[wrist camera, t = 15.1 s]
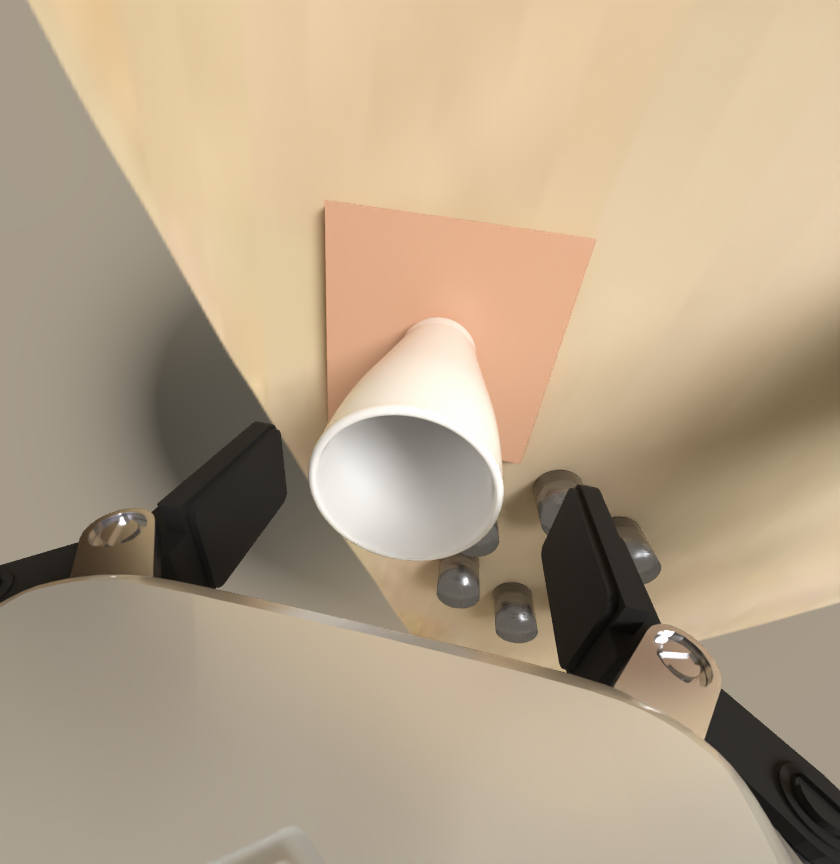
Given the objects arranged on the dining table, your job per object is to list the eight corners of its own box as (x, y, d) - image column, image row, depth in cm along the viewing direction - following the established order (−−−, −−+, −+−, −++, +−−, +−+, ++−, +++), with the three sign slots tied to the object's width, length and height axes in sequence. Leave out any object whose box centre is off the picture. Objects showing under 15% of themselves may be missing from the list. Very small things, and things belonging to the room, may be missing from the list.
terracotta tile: (591, 238, 21) (596, 239, 20) (519, 457, 29) (520, 463, 28) (330, 201, 22) (324, 200, 21) (332, 424, 30) (328, 429, 29)
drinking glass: (385, 388, 26) (305, 543, 13) (396, 294, 23) (301, 384, 10) (474, 405, 26) (477, 580, 13) (498, 314, 23) (536, 431, 10)
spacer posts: (669, 488, 29) (696, 524, 25) (584, 620, 38) (595, 659, 35) (464, 452, 29) (463, 481, 26) (432, 590, 39) (428, 625, 36)
